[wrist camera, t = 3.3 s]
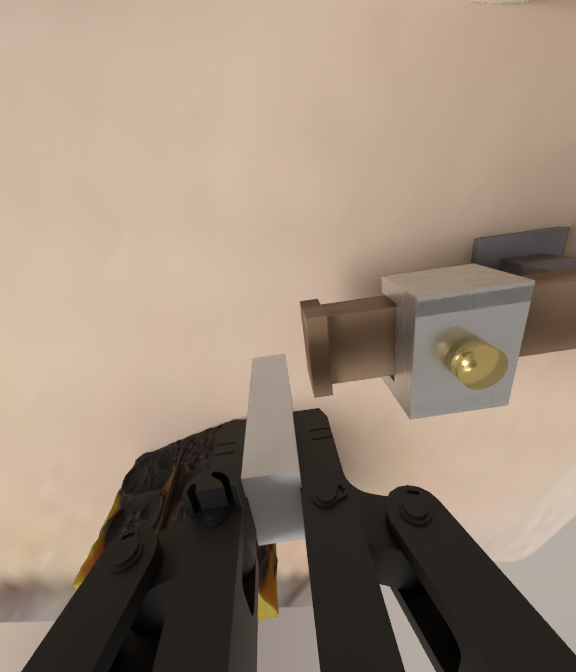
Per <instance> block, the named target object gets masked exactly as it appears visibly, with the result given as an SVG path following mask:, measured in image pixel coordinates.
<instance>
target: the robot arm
mask: <svg viewBox="0 0 576 672" xmlns="http://www.w3.org/2000/svg"><path fill="white" fill-rule="evenodd" d="M182 495H183V498H184V501H185V503H186V506H187V508H188V511H189V513H190V515H189V516H188V517H187V518H186V519H184V520H183V521H181V522H179V523H177V524H175V525H173V526H171V527H169V528H167V529H164V530H162V531H160V532H158V533H155V532H154V530H153V529H152V528H150V527H147V526H137V527H133V528H131V529H129V530H126V531H124V532H123V533H121V534H120V535H119V536H117V537H116V538H115V539H113V540H112V542H111V543H110V544H109V545H108V546H107V547H106V549H105V550H104V551H103V552H102V554H101V555H100V557H99V558H98V560H97V561H96V563H95V564H94V566H93V567H92V569H91V570H90V572H89V573H88V574H87V576H86V577H85V579H84V580H83V582H82V583H81V585H80V586H79V588H78V589H77V591H76V592H75V594H74V595H73V596H72V598H71V599H70V601H69V602H68V604H67V605H66V607H65V608H64V610H63V611H62V613H61V614H60V616H59V617H58V619H57V620H56V621H55V623H54V624H53V626H52V627H51V629H50V630H49V632H48V633H47V635H46V636H45V638H44V639H43V641H42V642H41V643H40V645H39V646H38V648H37V649H36V651H35V652H34V654H33V656H32V657H31V658H30V660H29V661H28V663H27V664H26V666H25V667H24V668H23V670H22V671H21V672H257V632H258V585H259V566H258V560H257V556H256V537H257V541H258V544H259V545H266V544H273V543H279V542H286V541H293V540H300V539H306V548H307V557H308V565H309V574H310V583H311V592H312V601H313V610H314V619H315V628H316V636H317V645H318V654H319V663H320V671H321V672H405V670H404V666H403V663H402V659H401V656H400V653H399V649H398V646H397V643H396V639H395V636H394V632H393V629H392V626H391V622H390V619H389V616H388V612H387V609H386V606H385V602H384V599H383V595H382V592H381V588H380V585H379V584H382V585H386V586H390V587H391V590H392V591H393V593H394V595H395V597H396V599H397V601H398V602H399V604H400V606H401V608H402V610H403V612H404V613H405V615H406V617H407V619H408V621H409V623H410V625H411V626H412V628H413V630H414V632H415V634H416V636H417V637H418V639H419V641H420V643H421V645H422V647H423V648H424V650H425V652H426V654H427V656H428V658H429V659H430V661H431V663H432V665H433V667H434V669H435V671H436V672H576V655H575V654H574V653H573V652H572V650H571V649H570V648H569V647H568V646H567V645H566V644H565V643H564V641H563V640H562V639H561V638H560V637H559V636H558V634H556V632H555V631H554V630H553V629H552V628H551V627H550V625H549V624H548V623H547V622H546V621H545V620H544V619H543V618H542V616H541V615H540V614H539V613H538V612H537V611H536V610H535V608H534V607H533V606H532V605H531V604H530V603H529V602H528V601H527V599H526V598H525V597H524V596H523V595H522V594H521V593H520V592H519V590H518V589H517V588H516V587H515V586H514V585H513V584H512V582H511V581H510V580H509V579H508V578H507V577H506V576H505V575H504V574H503V572H502V571H501V570H500V569H499V568H498V567H497V565H496V564H495V563H494V562H493V561H492V560H491V559H490V558H489V556H488V555H487V554H486V553H485V552H484V551H483V550H482V548H481V547H480V546H479V545H478V544H477V543H476V542H475V541H474V539H473V538H472V537H471V536H470V535H469V534H468V533H467V532H466V530H465V529H464V528H463V527H462V526H461V525H460V524H459V522H458V521H457V520H456V519H455V518H454V517H453V516H452V515H451V513H450V512H449V511H448V510H447V509H446V508H445V507H444V505H443V504H442V503H441V502H440V501H439V500H438V499H437V498H436V497H435V496H433V495H432V494H431V493H430V492H428V491H426V490H424V489H422V488H420V487H416V486H409V485H406V486H401V487H397V488H395V489H394V490H393V491H391V492H390V493H389V495H388V496H381V495H375V494H370V493H366V492H363V491H361V490H359V489H357V488H355V487H354V486H353V485H351V484H350V483H349V481H348V480H347V479H346V478H345V475H344V473H343V470H342V467H341V463H340V460H339V456H338V453H337V449H336V446H335V442H334V439H333V435H332V432H331V429H330V425H329V421H328V418H327V416H326V415H325V414H324V413H323V412H322V411H321V410H320V409H319V408H316V409H309V410H303V411H296V412H293V404H292V397H291V391H290V384H289V377H288V370H287V364H286V357H285V354H280V355H273V356H266V357H259V358H253V361H252V371H251V382H250V392H249V402H248V412H247V420H240V421H233V422H226V423H225V424H224V425H223V426H222V428H221V429H220V431H219V432H218V433H217V438H216V442H215V447H214V451H213V457H212V460H211V465H210V469H207V470H204V471H202V472H200V473H198V474H197V475H195V476H194V477H193V478H192V479H191V480H190V481H189V482H188V483H187V484H186V486H185V488H184V490H183V492H182Z"/></svg>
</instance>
